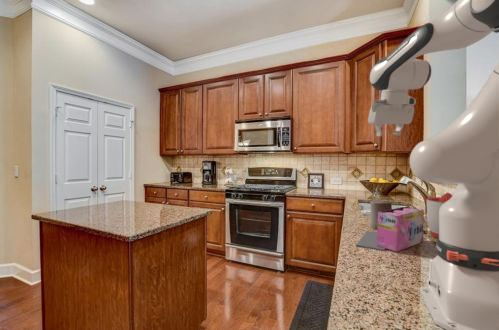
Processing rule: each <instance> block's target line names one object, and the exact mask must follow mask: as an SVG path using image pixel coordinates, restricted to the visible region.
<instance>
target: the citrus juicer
mask: <svg viewBox="0 0 499 330" xmlns="http://www.w3.org/2000/svg"><path fill="white" fill-rule="evenodd" d="M452 196H453V194H451V193H449V192H446V193H444V194H442V196H440V197H437V196H434V197H426V198H425V199H426V220H427V226H428V229H429V232H430V234H431V236H432V237H435V238H437V239H438V238H439V209H440V207H441V205H442V204H444V203H445V202H446V201H448V200H449V199H450V198H451V197H452Z"/></svg>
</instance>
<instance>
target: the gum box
mask: <svg viewBox="0 0 499 330" xmlns="http://www.w3.org/2000/svg"><path fill="white" fill-rule="evenodd" d="M424 212H425V210H424V209H420V210H418V209H414V208H410V207H409V206H402V207H396V208H392V209H391V210H386V211H380V212H378V228H377V230H376V232H377V246H380V247H383V248H386V249H387V250H390V251H393V252H400V251H403V250H405V249H408V248H411V247H412V246H416V245H419V244H421V243H423V242H424V235H425V233H424V231H425V230H424V227H425V226H424V225H425V224H424V223H425V221H424V220H425V219H424V217H425V216H424ZM386 249H385V250H386Z"/></svg>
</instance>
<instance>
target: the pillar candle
mask: <svg viewBox="0 0 499 330" xmlns="http://www.w3.org/2000/svg"><path fill="white" fill-rule="evenodd" d="M369 203H370V227H371V229H374V230H376V229H377V228H378V212H380V211H386V210H391V209H393V208H392V204H393V203H392V201H389V200H382V199H380V200H370V202H369Z"/></svg>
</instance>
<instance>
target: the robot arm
mask: <svg viewBox="0 0 499 330" xmlns="http://www.w3.org/2000/svg"><path fill="white" fill-rule="evenodd" d="M492 32H493V33H495V34H497V33H499V0H456V1H455V2H454V3H453V4H452V5H451V6H450V7H448V9H446V10H445V11H443V12H442V13H440V15H438V16H436V17H435V18H434V19H432V20H430V21H429V22H427V23H424V24H423V25H421V26H419V27H418V28H417V29H415V30H413V32H411V34H409V35H408V36H407V37H406V38H405V39H404V40H402V42H401V43H400V44H398V45H397V46H396V47H395V48H394V49H393V50H392V51H391V52H389V53H388V54H387V55H386V56H385V57H383V58H381V59H380V60H378V61H377V62H376V63H374V65H373V66H372V68H371V70H370V72H369V75H368V77H369V84H370V85H371V86H372V87H373V88H374V89H375V90H376V91H381V94H380V99H375V100H374V101H373V102H372V104H371V107H370V110H369V112H368V118H367V123H368V124H369V125H374V128H375V132H376V134H375V135H376V136H377V137H383V135H384V131H382V128H383V125H395V126H396V128H395V130H393V136H401V131H402V130H403V128H404V126H405V125H407V124H409V125H410V124H411V123H412V121H413V118H414V112H415V105H416V103H417V102H416V101H417V100H416V99H415V98H414V97H412V96H411V95H409V90H420V89H422V88H423V87H425V85H427V84H428V82H429V81H430V79H431V77H432V66H431V64H430V63H429V61H427V60H424V59H418V58H419V57H421V56H423V55H427V54H432V53H437V52H445V51H453V50H460V49H464V48H467V47H469V46H472V45H474V44H475V43H478V42H480V41H481V40H483V39H485V38H486V37H487V36H489V35H490V34H491V33H492ZM409 167H410V169H411V172H412V174H413V175H414V176H415V177H416V178H417V179H418V180H420V181H423V182H427V183H432V184H437V185H444V186H445V185H450V186H451V185H457V186H456V188H455V191H454V193H453V194H452V197H451V198H450V199H449V200H448V201H446V202H445V203H444V204H442V205H441V207H440V209H439V238H437V239H436V244H435V246H436V254H437V255H436V256H435V257H434V258H432V259H429V277H428V286H420V287H419V292H420V295H421V297H422V299H423V301H424V303H425V305H426V307H427V309H428V311H429V314H430V316H431V318H432V319H433V320H432V321H433V322H434V323H435V324H436V325H437V326H439V327H440V328H442V329H444V330H499V62H498V63H497V65H496V66H495V67H494V69H493V70H492V72H491V74H490V75H489V76H488V78H487V80H486V81H485V83H484V84H483V85H482V87H481V88H480V90H479V92H477V95H476V96H475V97H474V99H473V100H472V101H471V103H470V104H469V105H468V107H466V109H464V110H463V111H462V113H460V115H459V116H457V117H456V118H455V119H454V120H453V121H451V122H450V124H448V125H447V126H446V127H444V128H443V129H442V130H440V131H439V132H438V133H436V134H434V135H432V136H431V137H429V138H427V139H425V140H422V141H419V142H418V143H417V144H416V145H415V146H414V147H413V149H412V151H411V153H410V155H409Z"/></svg>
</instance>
